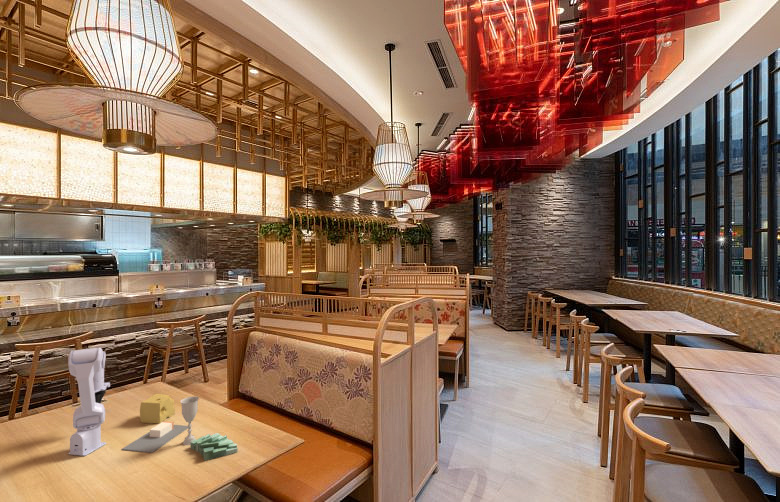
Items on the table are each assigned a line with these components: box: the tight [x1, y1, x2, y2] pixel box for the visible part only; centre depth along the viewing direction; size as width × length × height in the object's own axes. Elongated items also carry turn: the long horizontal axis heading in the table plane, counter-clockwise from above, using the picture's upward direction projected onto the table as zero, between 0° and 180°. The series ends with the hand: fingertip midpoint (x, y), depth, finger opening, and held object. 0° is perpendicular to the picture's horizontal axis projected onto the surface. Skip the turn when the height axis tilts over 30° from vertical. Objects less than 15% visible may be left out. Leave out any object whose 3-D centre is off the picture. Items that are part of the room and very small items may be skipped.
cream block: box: [149, 420, 175, 438], centre depth 163 cm, size 3×5×8 cm
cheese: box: [139, 393, 176, 424], centre depth 178 cm, size 10×11×10 cm
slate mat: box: [121, 424, 188, 454], centre depth 160 cm, size 22×14×1 cm, turn 172°
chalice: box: [179, 395, 200, 446], centre depth 156 cm, size 7×7×18 cm
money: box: [189, 432, 239, 462], centre depth 151 cm, size 20×16×5 cm
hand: (95, 408), depth 164 cm, fingers closed
